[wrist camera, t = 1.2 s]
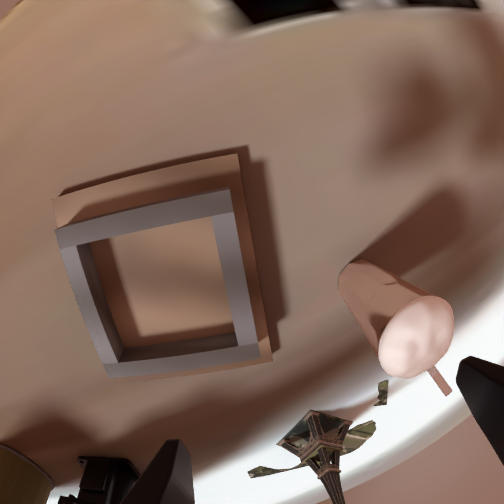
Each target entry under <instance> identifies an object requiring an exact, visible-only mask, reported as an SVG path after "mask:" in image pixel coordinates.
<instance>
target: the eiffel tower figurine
mask: <svg viewBox="0 0 504 504" xmlns="http://www.w3.org/2000/svg"><path fill="white" fill-rule="evenodd" d="M387 390H388V381H384V382H381V383H378V391H379V395H378V397H377V398H378V399H379V400H380V401H379V402H378V403H376V404H375V405H374V406H379V405H387ZM352 423H353V422H352V421H348V420H344V419H341V418H337V417H334V416H330V415H327V414H323V413H320V412H317V411H314V410H310V411H309V412H308V413H307V414H306V415H305V416H304V417H303V418H302V419H301V420H300V421H299V422H298V423H297V424H296V425H295V426H294V427H293V428H292V429H291V430H290V431H289V432H288V433H287V434H286V435H285V436H284V437H283V438H282V439H281V440H280V441H279V442H278V443H277V444H276V445H278V446H282V447H283V448H285V449H286V450H288V451H290V452H291V453H293V454H294V455H296V456H298V457H299V458H300V460H301V463H300V464H299V465H297V466H295V467H293V468H291V469H272V468H267V467H263V466H259V467H257V468H254V469H252V470H250V471H248V474H249V476H250V478H255V477H261V476H266V475H271V474H275V473H279V472H284V471H288V470H292V469H296V468H301V467H305V466H310V467H311V468H312V470H313V471H314V472H315V473H316V474H317V475H318V477H317V478H318V479H320V480H321V481H322V483H323V484H324V486H325V488H326V490H327V492H328V494H329V496H330V498H331V500H332V503H333V504H345V500H344V496H343V492H342V488H341V482H340V475H339V473H340V472H341V470H339V460H340V456H342V455H345V454H348V453H350V452H353V451H354V450H356V449H358V448H359V447H360V446H361V445H362V444H363V443H364V442H365V441H366V440H367V439H369V438H370V437H371V436H372V435H373V433H374V432H375V430H376V426H375V424H376V423H375V422H374V421H373V420H371V421H368V422H366V423H363V424H360V425H357V426H356V427H354V428H352V429H350V430H348V429H349V427H350V425H351V424H352ZM330 462H332V464H330ZM320 466H321V467H320Z"/></svg>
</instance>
